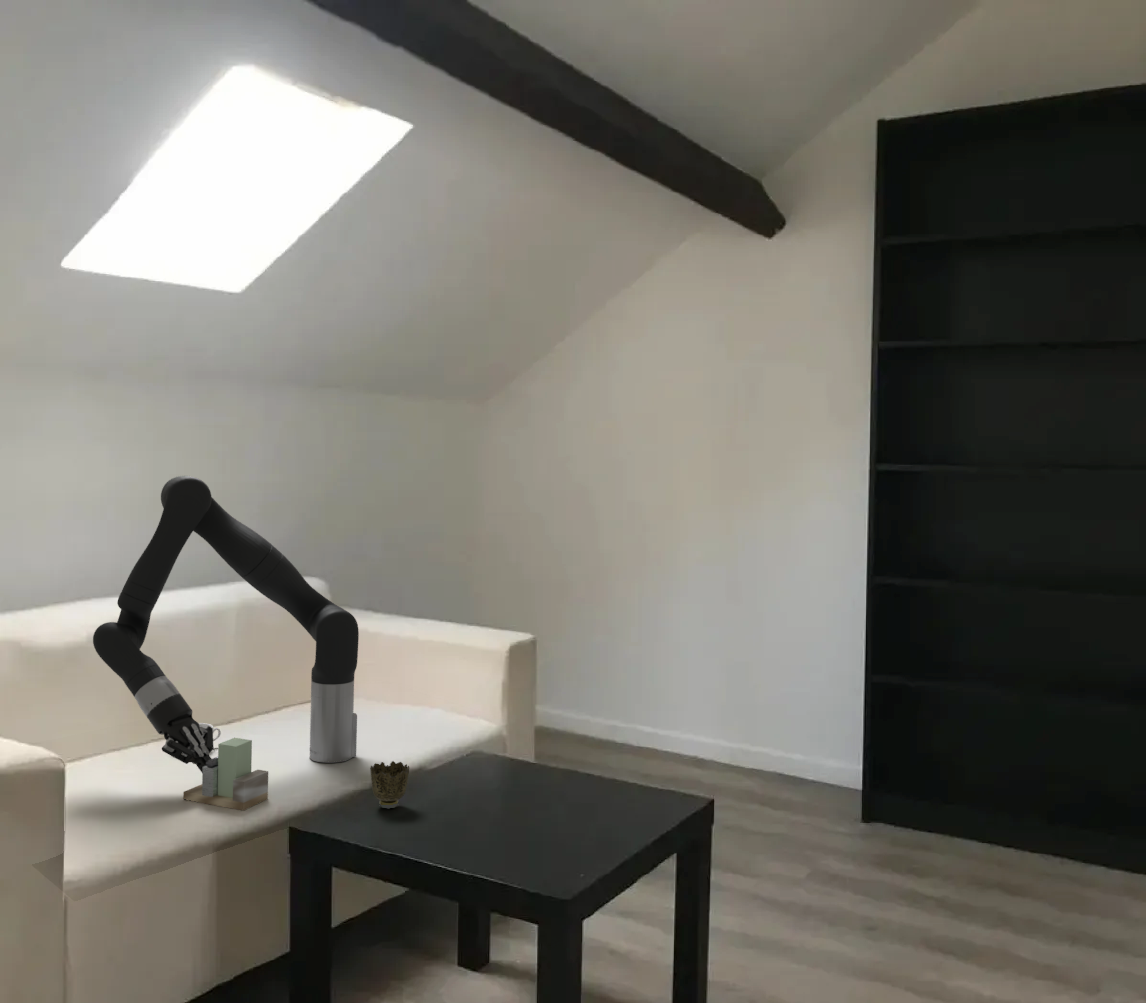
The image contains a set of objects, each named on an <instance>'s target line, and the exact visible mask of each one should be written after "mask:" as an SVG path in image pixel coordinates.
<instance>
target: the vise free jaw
mask: <svg viewBox="0 0 1146 1003" xmlns="http://www.w3.org/2000/svg"><path fill="white" fill-rule="evenodd" d="M201 773H202V776H201V780H202V781H201V782H202V783H201V784H202V795H204V796H209V797H214V796H217V795H218V756H216V757H212V758H211V759H210V760H207V761H206V766H204V767H203V771H202V772H201Z"/></svg>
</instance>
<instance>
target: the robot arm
mask: <svg viewBox="0 0 1146 1003" xmlns="http://www.w3.org/2000/svg"><path fill="white" fill-rule="evenodd" d="M160 501H161V504H162V505H161V506H162V508H163V510H162V512H161V516H160V519H159V521H158V525H157V527H156V530H155V531H154V533H153V536H152V537H151V540H150V541H149V543H148V544H147V546H146V547H145V549H144V550H143V552H142V553H141V555H140V556H139V558H138V560H137V562H136V563H135V564H134V566H133V568H132V569H131V572H130V573H129V575H128V577H127V579H126V581H125V584H124V585H123V587H122V589H121V592H120V594H119V595H118V599H117V606H118V607H119V609H120V613H119V614H118V615H119V616H118V618H117V621H115V622H114V621H111V622H110V621H109V622H105V623H102V624H100V625H99V626H98V627H97V628H96V629H95V630H94V633H93V636H92V644H93V647H94V649H95V652H96V654H97V655H98V657H99V658H100V659H101V660H102V661H103V662H104V664H106V665H107V666H108V667H109V669H111V670H112V671H113V672H114V674H116V675H117V676H118V677H119V678H121V680H122V681H123V682H124V685H125V686H126V687H127V688H128V690H129V691H130V693H131V694H132V696H133V698H134V699H135V700H136V703H137V705H138V706H139V708H140V710H141V711H142V712H143V714H144V715H145V717H146V718H147V719H148V721H149V722H150V724H151V725H152V726H153V728H154V729H155V731H156V732H157V733H158V735H162V736H163V737H164V738H163V739H165V744H164V745H163V746H162V747H161V750H162V752H163V753H165V754H167V755H169V756H171V757H173V758H175V759H176V760H178V761H180V762H182V763H184V764H185V765H188V764H189V763H192V764H193V765H196V767H197V768H198V769H199V771H200V773H202V771H203V767H204V766H206V761H207V760H210V759H212V757H211V756H210V754H211V752H212V751H213V750H214V741H213V738H214V733H213V729H212V728H211V727H210V726H208V727H207V728H203V727H200V725H199V723H200V722H198V721H197V720H195V719H194V718H193V709H192V708H191V707H190V705H189V704H188V702H187V701H186V699H185V698H184V696H183V695H182V694H181V693H180V691H179V690H178V689H177V686H175V685H174V683H173V682H172V681H171V680H170V678H168V677H167V675H166V674H165V673H164V671H163V670H162V669H161V667H160V666H159V664H158V663H157V662H156V661H155V660H154V659H153V658H152V657H151V656H149V655H147V654H145V653H144V652H142V651H141V648H142V646H143V644H144V643H145V639H146V637H147V633H148V629H149V625H150V620H151V615H152V611H153V610H154V608H155V606H156V604H157V602H158V601H159V598H160V596H161V593H162V592H163V590H164V588H165V585H166V583H167V581H168V579H169V576H170V575H171V573H172V570H173V568H174V565H175V563H176V561H177V560H178V558H179V555H180V553H181V552H182V550H183V548H184V546H185V545H186V543H187V541H188V539H190V536H191V535H192V533H193V532H194V533H196V534H197V535H198V536H199V537H201V538H202V539H203V540H204V541H205V542H207V544H208V545H209V546H211V548H212V549H213V550H214V551H215V552H216V553H217V554H218V555H219V556H220V558H221V559H222V560H224V562H226V564H227V565H228V566H229V567H230V568H231V569H232V570H233V571H234V572H235V573H236V574H237V575H238V576H239V577H241V578H242V579H243V580H244V581H245V582H246V583H248V584H249V585H250V586H251V587H252V588H253V589H255V590H256V591H258V592H259V593H260V594H261V595H263V596H264V597H265V598H267V599H268V600H270V601H271V602H273V603H275V604H276V605H278V606H280V607H281V608H283V609H284V610H286V611H287V613H289V614H290V615H291V616H292V617H293V618H294V619H295V620H296V621H297V622H298V623H299V624H300V625H301V626H302V628H304V630H306V632H307V633H308V635H310V637H311V638H312V639H313V640H314V641H315V655H314V656H315V657H314V658H315V659H314V665H313V666H312V668H311V673H310V674H311V675H310V676H311V677H310V678H311V679H310V680H311V683H310V685H311V686H310V722H309V723H310V724H309V725H310V728H309V729H310V730H309V759H310V760H312V761H314V762H318V763H324V764H325V763H327V764H328V763H329V764H331V763H334V764H335V763H341V762H346V761H349V760H351V759H352V758H356V757H357V737H358V714H357V713H355V712H354V705H355V704H354V700H355V694H354V693H355V674H356V673H355V672H356V670H357V665H358V656H359V655H358V654H359V637H360V636H359V635H360V634H359V625H358V621H357V619H356V618H355V616H354V615H353V614H352V613H351V612H349V611H347V610H346V609H344V608H342V607H340V606H338V605H337V604H335V603H334V602H332V601H331V600H330V599H328V598H326V597H325V596H324V595H322V593H320V592H318V591H317V590H316V589H315V588H314V587H312V586H311V585H310V584H309V583H308V582H307V581H306V579H305V578H304V577H303V575H302V574H301V573H300V571H299V570H298V569H297V568H296V567H295V565H294V564H293V562H291V561H290V560H289V559H288V558H287V557H286V555H284V554H283V553H282V552H281V551H280V550H279V549H278V548H277V547H275V545H273V544H272V543H270V542H269V541H268V540H267V539H266V538H265V537H263V536H261V535H260V534H259V533H258V532H256V530H253V529H251V527H249V526H247V525H246V524H244V523H243V522H241V521H239V520H237V518H234V516H232V515H230V513H228V512H227V511H226V510H225V509H224V508H223V507H222V506H221V505H220V503H218V502H217V500H215V498H213V497H212V492H211V490H210V488H209V486H208V485H207V484H206V482H204V481H203V480H202V479H200V478H197V477H194V476H190V475H189V476H188V475H180V476H179V475H178V476H174V477H173V478H171V479H169V480H168V481H167V482H166V483H165V484H164V485H163V486H162V488H161V493H160Z"/></svg>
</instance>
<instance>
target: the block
mask: <svg viewBox="0 0 1146 1003" xmlns="http://www.w3.org/2000/svg"><path fill="white" fill-rule="evenodd" d="M252 745H253V740H252V739H246V738H241V737H232V738H230V739H227V740H225V741H222V742H220V743H218V744H217V746H218V747H217V749H218V752H217V757H218V795H219V796H224V797H230V798H233V780H234V779H237V778H239V777H241V776H244V775H246V774H248V773H251V772H252V757H253V756H252V754H253V752H252V749H253V746H252Z"/></svg>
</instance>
